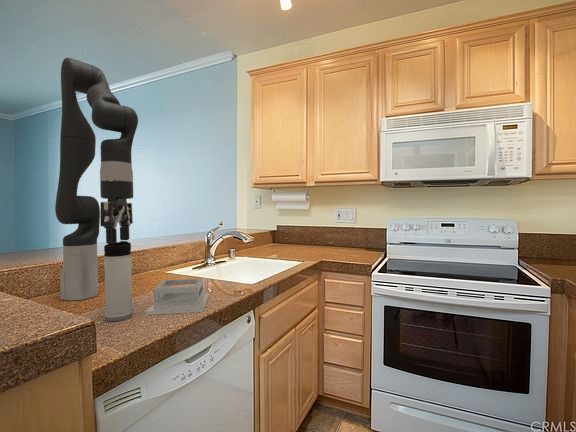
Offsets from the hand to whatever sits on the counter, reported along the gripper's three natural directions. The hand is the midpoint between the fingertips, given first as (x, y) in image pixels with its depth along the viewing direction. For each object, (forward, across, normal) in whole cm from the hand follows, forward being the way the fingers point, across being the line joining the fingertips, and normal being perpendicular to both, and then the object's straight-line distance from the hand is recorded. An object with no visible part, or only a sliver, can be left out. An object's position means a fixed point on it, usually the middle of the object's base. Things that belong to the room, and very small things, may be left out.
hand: (118, 241), depth 78 cm
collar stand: (+20, -8, +14) cm, 26 cm away
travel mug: (+20, 0, 0) cm, 20 cm away
